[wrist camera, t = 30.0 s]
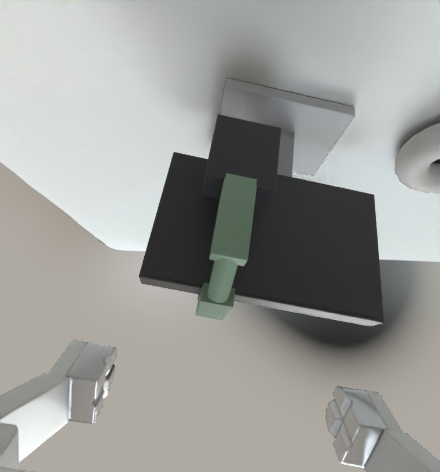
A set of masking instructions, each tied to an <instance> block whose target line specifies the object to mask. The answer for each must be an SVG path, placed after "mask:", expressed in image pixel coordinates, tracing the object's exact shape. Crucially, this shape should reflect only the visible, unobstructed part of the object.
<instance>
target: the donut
mask: <svg viewBox="0 0 440 472" xmlns="http://www.w3.org/2000/svg"><path fill="white" fill-rule="evenodd" d="M437 159H440V123H438V124H435V125H432V126H429V127H428V128H426V129H424V130H422V131H421V132H419V133H417V134H416V135H414V136H413V137H412V138H410V139H409V140H408V141H407V142H406V143H405V144H404V145H403V146H402V148H401V150H400V151H399V153H398V155H397V156H396V159H395V173H396V175H397V177H398V178H399V180H400V182H402V183H403V184H404V185H406V186H407V187H409V188H410V189H413V190H417V191H421V192H426V193H440V163H432V162H434V161H435V160H437Z"/></svg>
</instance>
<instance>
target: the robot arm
mask: <svg viewBox="0 0 440 472" xmlns="http://www.w3.org/2000/svg"><path fill="white" fill-rule="evenodd" d="M116 355H117V348H115V347H110V346H105V345H100V344H95V343H90V342H84V341H79V340H73V341H72V342H71V343H70V344H69V345H68V347H67V348H66V350H65V351H64V352H63V354H62V355H61V357H60V358H59V360H58V361H57V362H56V364H55V365H54V366H53V368H52V369H51V371H50V372H49V373H48V374H47V373H43V374H41V375H39V376H38V377H35V378H33V379H32V380H30V381H28V382H26V383H24V384H22V385H20V386H18V387H16V388H14V389H13V390H10V391H8V392H7V393H5V394H3V395H1V396H0V472H32V471H26V470H19V462H20V461H21V460H23V459H24V458H25V457H26V456H27V455H29V454H30V453H31V452H32V451H34V450H35V449H36V448H37V447H38V446H39V445H41V444H42V443H43V442H44V441H46V440H47V439H48V438H49V437H50V436H52V435H53V434H54V433H55V432H57V431H58V430H59V429H60V428H61V427H63V426H64V425H65V424H66V423H67V422H68V421H74V422H82V423H90V424H95V422H96V420H97V417H98V415H99V413H100V410H101V408H102V405H103V398H104V397H105V396H107V395H108V392H109V390H110V387H111V384H112V381H113V377H114V372H115V366H114V364H113V363H114V361H115V358H116ZM333 395H334V398H335V399H334V400H333V401H331V402H329V404H328V407H327V409H326V423H327V427H328V430H329V432H330V433H331V434H332V435H333V436H334V437H335V440H334V443H333V445H334V447H335V450H336V453H337V456H338V459H339V462H340V463H342V464H347V465H353V466H358V467H363V468H364V470H365V471H366V472H440V461H439V460H438V459H437V458H436V457H434V456H433V455H432V454H431V453H430V452H429V451H427V450H426V449H425V448H424V447H423V446H422V445H420V444H419V443H418V442H417V441H416V440H414V439H413V438H412V437H411V436H410V435H409V434H407V433H403V431H402V430H401V428H400V426H399V425H398V423H397V421H396V420H395V418H394V416H393V414H392V413H391V411H390V409H389V408H388V406H387V404H386V403H385V401H384V399H383V397H382V396H381V395H380V394H379V393H378V392H373V391H367V390H359V389H353V388H347V387H341V386H338V387H336V388H335V390H334V392H333Z"/></svg>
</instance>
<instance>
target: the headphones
mask: <svg viewBox="0 0 440 472" xmlns="http://www.w3.org/2000/svg"><path fill="white" fill-rule="evenodd" d="M280 138H281V128H279V127H274V126H270V125H265V124H260V123H256V122H251V121H247V120H242V119H238V118H233V117H228V116H224V115H219V114H218V116H217V121H216V125H215V130H214V135H213V139H212V144H211V149H210V153H209V158H208V163H207V167H206V172H205V177H204V184H203V191H202V196H207V197H212V198H217V199H220V202H219V207H218V213H217V218H216V224H215V229H214V235H213V240H212V246H211V251H210V257H209V259H210V260H214V265H213V270H212V274H211V278H210V283H203V286H202V289H201V293H200V294H198V304H197V310H196V315H197V316H202V317H208V318H213V319H219V320H223V318H224V317H225V316H226V315H227V314H228V312H229V311H230V310H231V309H232V308H233V303H234V296H235V288H231V287H232V284H233V280H234V277H235V273H236V270H237V266H238V265H240V266H244V265H245V264H246V262H247V260H248V254H249V246H250V238H251V230H252V222H253V213H254V206H256V207H261V208H266V207H267V205H268V203H269V201H270V199H271V197H272V196H273V194H274V192H275V190H276V183H277V171H278V160H279V149H280Z"/></svg>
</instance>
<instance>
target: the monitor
mask: <svg viewBox="0 0 440 472" xmlns="http://www.w3.org/2000/svg"><path fill="white" fill-rule="evenodd" d="M220 115H224V116H228V117H233V118H238V119H242V120H247V121H251V122H256V123H260V124H265V125H270V126H274V127H279V128H281V138H280V149H279V160H278V171H277V183H276V190H275V192H274V194H273V196H272V197H271V199H270V201H269V203H268V205H267V207H266V208H261V207H256V206H254V213H253V222H252V230H251V238H250V246H249V254H248V260H247V262H246V264H245V265H244V266H240V265H238V266H237V270H236V273H235V277H234V280H233V284H232V287H231V288H235V296H234V301H238V302H243V303H248V304H254V305H259V306H264V307H270V308H275V309H280V310H286V311H291V312H296V313H302V314H307V315H313V316H318V317H324V318H328V319H334V320H339V321H345V322H350V323H355V324H360V325H366V326H373V325H377V324H380V323H384V317H383V304H382V292H381V278H380V265H379V252H378V239H377V226H376V213H375V200H374V195H373V194H368V193H363V192H359V191H354V190H349V189H345V188H340V187H335V186H331V185H326V184H321V183H317V182H312V181H307V180H303V179H298V178H293V177H292V171H293V172H298V173H302V174H307V175H312V176H313V175H314V174H315V173H316V171H317V170H318V168H319V167H320V165H321V164H322V162H323V161H324V160H325V158H326V157H327V155H328V154H329V152H330V151H331V150H332V148H333V147H334V145H335V144H336V142H337V141H338V139H339V138H340V137H341V135H342V134H343V132H344V131H345V129H346V128H347V126H348V125H349V124H350V122H351V121H352V119H353V118H354V116H355V107H352V106H347V105H343V104H338V103H334V102H330V101H325V100H321V99H317V98H312V97H308V96H304V95H299V94H295V93H291V92H286V91H282V90H278V89H273V88H269V87H265V86H260V85H256V84H252V83H247V82H243V81H238V80H234V79H230V78H226V82H225V86H224V92H223V98H222V104H221V109H220ZM207 163H208V159H204V158H200V157H195V156H190V155H186V154H181V153H176V152H174V153H173V157H172V160H171V164H170V167H169V171H168V174H167V178H166V181H165V185H164V189H163V192H162V196H161V199H160V203H159V206H158V210H157V213H156V217H155V221H154V224H153V228H152V231H151V235H150V238H149V242H148V245H147V249H146V253H145V256H144V260H143V264H142V267H141V270H140V274H139V278H140V281H141V283H142V284H147V285H152V286H158V287H163V288H168V289H174V290H179V291H184V292H190V293H195V294H200V293H201V289H202V286H203V283H210V278H211V274H212V270H213V265H214V260H210V259H209V257H210V251H211V246H212V240H213V235H214V229H215V224H216V218H217V213H218V207H219V202H220V199H217V198H212V197H207V196H202V191H203V184H204V177H205V172H206V167H207Z"/></svg>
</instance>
